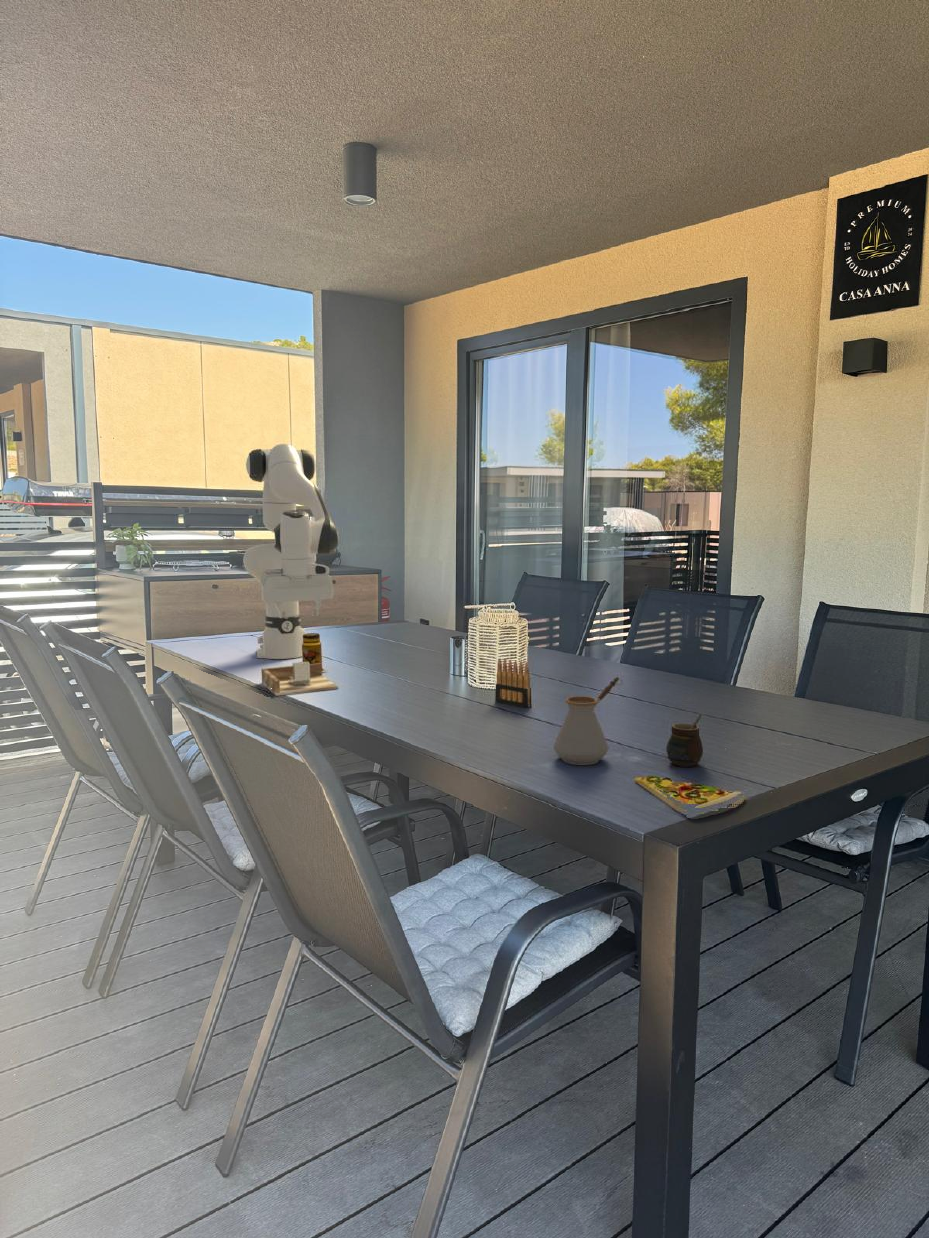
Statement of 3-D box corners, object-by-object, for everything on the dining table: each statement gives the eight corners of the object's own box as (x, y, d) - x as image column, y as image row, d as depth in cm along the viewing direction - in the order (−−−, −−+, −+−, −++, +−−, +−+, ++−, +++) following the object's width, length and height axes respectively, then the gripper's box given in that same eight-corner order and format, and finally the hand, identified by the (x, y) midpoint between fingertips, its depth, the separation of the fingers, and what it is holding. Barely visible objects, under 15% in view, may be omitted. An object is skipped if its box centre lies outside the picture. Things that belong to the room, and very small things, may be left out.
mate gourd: (658, 762, 174) (659, 715, 173) (682, 756, 179) (684, 710, 177) (685, 771, 169) (687, 722, 167) (710, 764, 173) (712, 717, 171)
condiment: (305, 674, 262) (303, 636, 261) (297, 669, 270) (295, 632, 268) (327, 672, 266) (326, 634, 264) (319, 667, 273) (317, 630, 271)
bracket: (310, 684, 244) (309, 662, 243) (295, 686, 242) (294, 664, 242) (304, 679, 251) (303, 658, 250) (289, 681, 249) (288, 659, 248)
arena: (262, 682, 251) (261, 668, 251) (321, 676, 259) (320, 663, 258) (275, 695, 235) (275, 680, 235) (338, 688, 243) (337, 674, 242)
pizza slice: (699, 825, 143) (699, 808, 142) (607, 792, 159) (608, 777, 159) (752, 804, 152) (753, 788, 152) (661, 775, 168) (661, 760, 168)
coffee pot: (589, 772, 169) (590, 699, 167) (542, 760, 176) (542, 690, 174) (641, 746, 185) (642, 680, 183) (595, 737, 192) (596, 673, 190)
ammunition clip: (494, 702, 226) (494, 658, 224) (499, 700, 227) (498, 657, 225) (527, 708, 219) (527, 663, 217) (531, 706, 220) (531, 661, 219)
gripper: (262, 571, 232) (264, 620, 234) (334, 567, 241) (336, 615, 243) (257, 569, 238) (260, 617, 240) (328, 565, 246) (329, 612, 248)
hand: (298, 616), depth 241 cm, fingers open, 8 cm apart
